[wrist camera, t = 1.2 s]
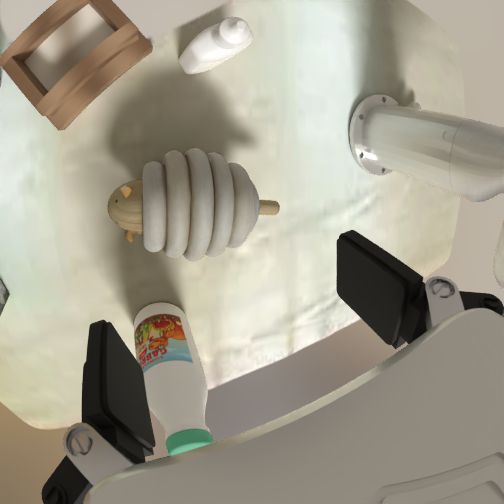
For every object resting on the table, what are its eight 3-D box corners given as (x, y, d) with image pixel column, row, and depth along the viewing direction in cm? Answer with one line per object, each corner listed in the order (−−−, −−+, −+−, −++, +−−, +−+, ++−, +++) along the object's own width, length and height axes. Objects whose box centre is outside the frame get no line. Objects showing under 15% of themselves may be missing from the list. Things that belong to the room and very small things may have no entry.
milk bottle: (195, 308, 38) (246, 434, 22) (174, 346, 40) (211, 465, 24) (144, 293, 34) (167, 433, 18) (126, 335, 36) (143, 465, 20)
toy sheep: (110, 148, 25) (93, 164, 16) (260, 142, 31) (312, 157, 22) (118, 240, 30) (112, 295, 21) (253, 226, 36) (297, 269, 27)
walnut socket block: (93, -11, 15) (86, -34, 10) (151, 51, 22) (154, 36, 17) (10, 64, 15) (-14, 57, 10) (64, 129, 22) (47, 132, 17)
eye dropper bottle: (228, 75, 26) (278, 55, 16) (177, 75, 24) (199, 49, 14) (229, 40, 24) (279, 6, 14) (178, 39, 22) (202, -4, 12)
